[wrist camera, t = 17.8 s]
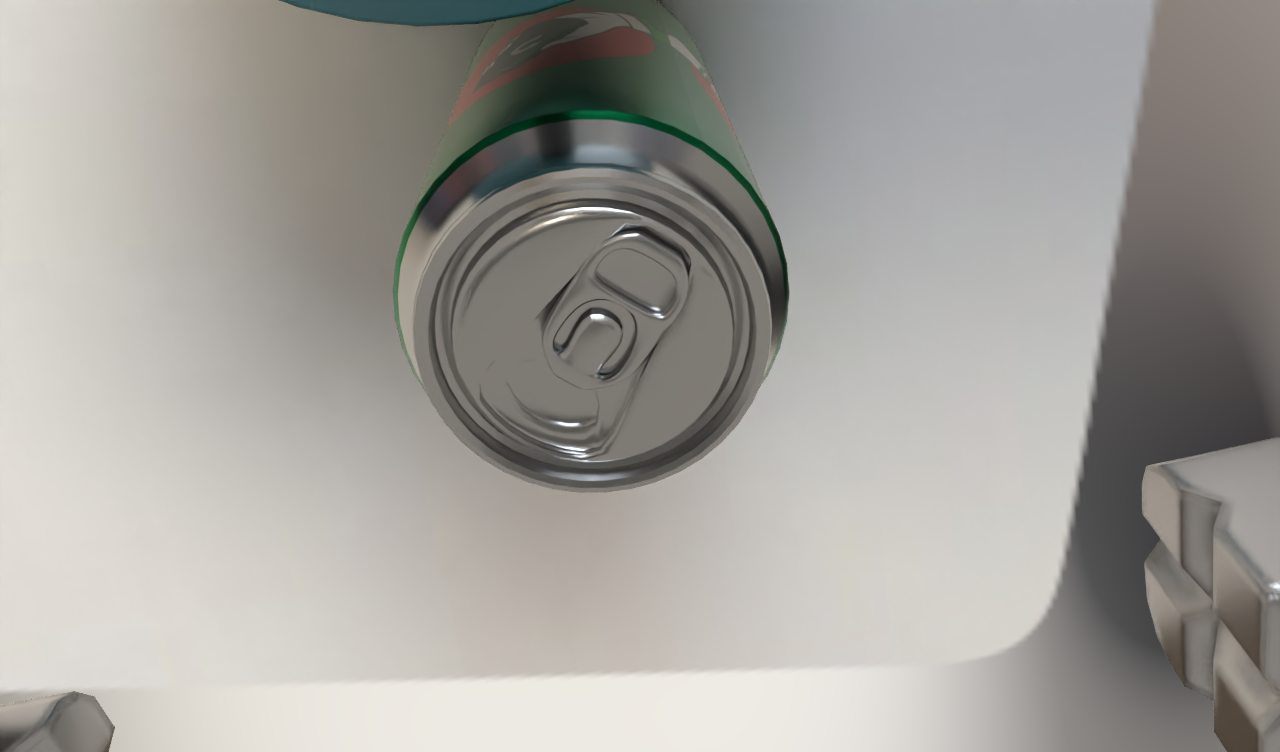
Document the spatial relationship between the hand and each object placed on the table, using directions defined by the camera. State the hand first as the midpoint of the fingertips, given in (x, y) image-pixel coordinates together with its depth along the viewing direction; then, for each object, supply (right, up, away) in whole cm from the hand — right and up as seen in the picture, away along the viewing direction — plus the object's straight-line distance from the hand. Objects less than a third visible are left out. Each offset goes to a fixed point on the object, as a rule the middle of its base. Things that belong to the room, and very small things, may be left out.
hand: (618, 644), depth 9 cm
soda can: (-1, +8, +16) cm, 18 cm away
